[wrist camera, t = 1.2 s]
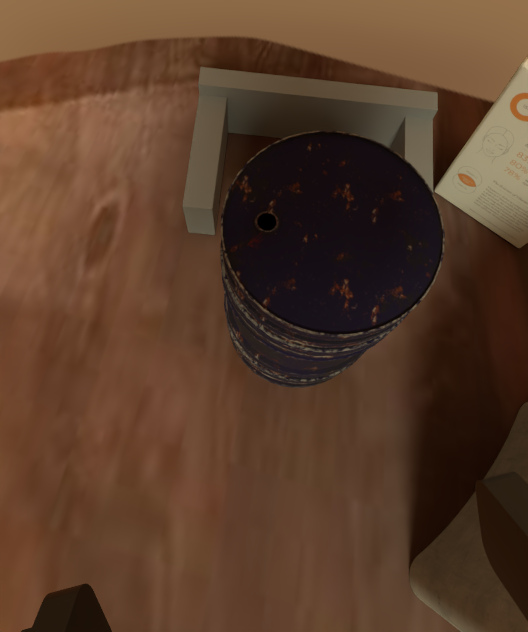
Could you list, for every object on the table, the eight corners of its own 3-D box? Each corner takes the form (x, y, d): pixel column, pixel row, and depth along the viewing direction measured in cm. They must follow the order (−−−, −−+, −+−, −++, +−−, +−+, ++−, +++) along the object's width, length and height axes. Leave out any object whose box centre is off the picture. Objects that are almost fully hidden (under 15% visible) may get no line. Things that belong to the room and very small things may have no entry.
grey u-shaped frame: (188, 232, 37) (180, 198, 32) (205, 114, 40) (200, 67, 35) (413, 255, 37) (439, 225, 32) (414, 136, 40) (437, 92, 35)
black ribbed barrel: (365, 262, 37) (444, 137, 23) (364, 394, 34) (454, 347, 20) (231, 252, 37) (226, 119, 22) (220, 384, 34) (206, 329, 20)
